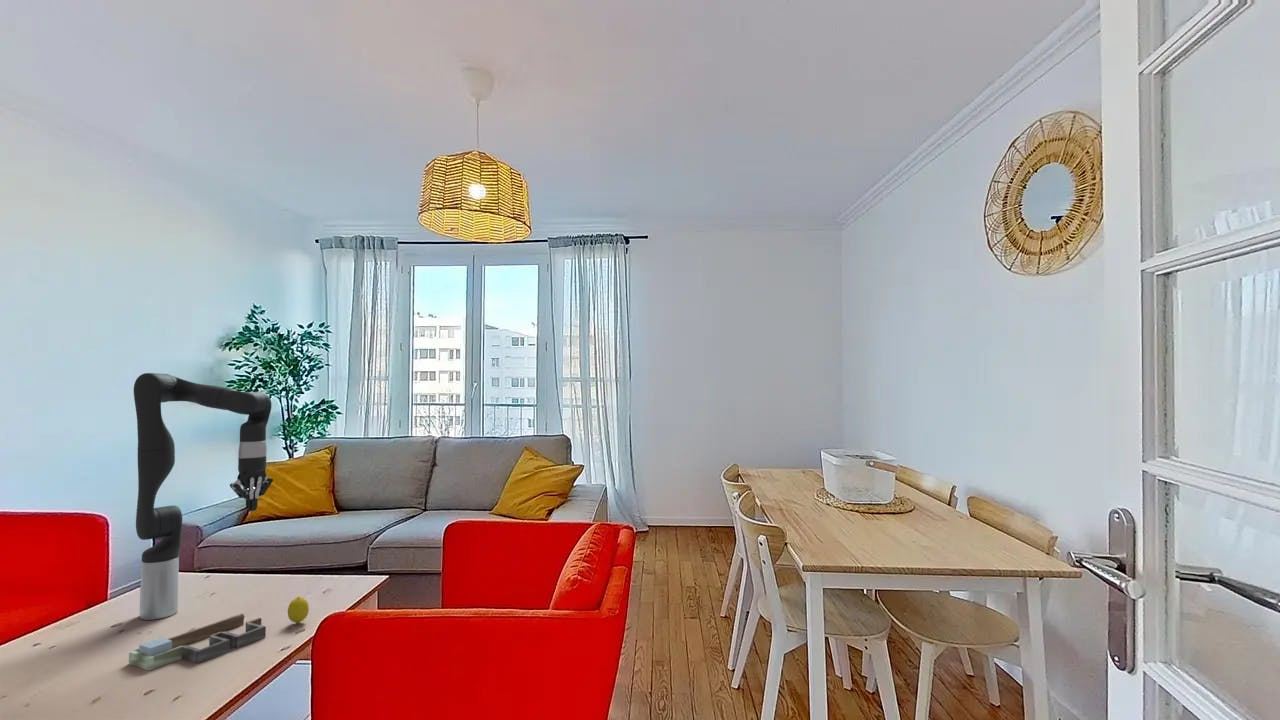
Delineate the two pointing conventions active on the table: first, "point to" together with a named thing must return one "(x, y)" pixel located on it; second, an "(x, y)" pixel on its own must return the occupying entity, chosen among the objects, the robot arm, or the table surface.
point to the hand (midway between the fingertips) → (251, 510)
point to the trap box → (217, 639)
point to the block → (155, 646)
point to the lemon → (298, 610)
